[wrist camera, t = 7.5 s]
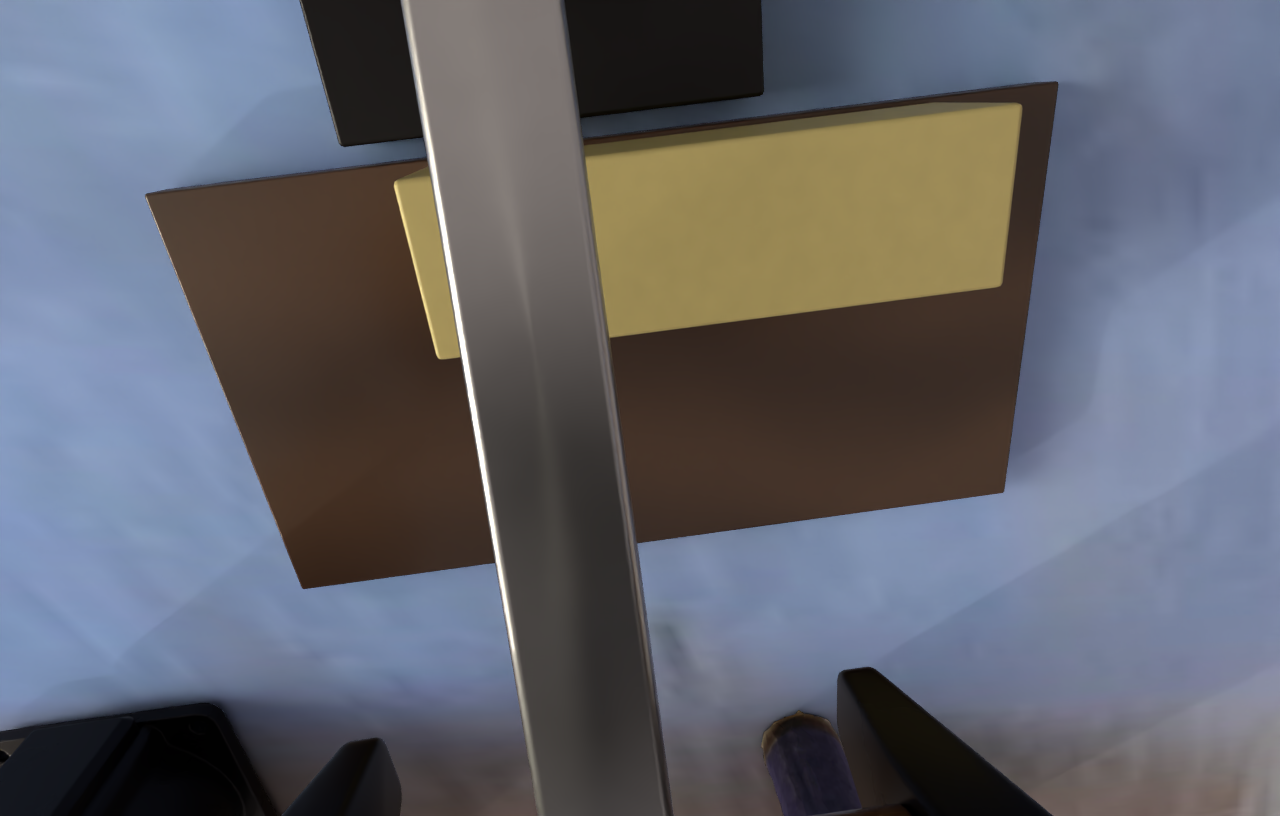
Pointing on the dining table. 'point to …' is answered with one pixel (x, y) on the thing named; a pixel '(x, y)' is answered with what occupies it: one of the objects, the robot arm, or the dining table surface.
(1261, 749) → the dining table surface
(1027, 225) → the butter board
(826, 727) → the flask
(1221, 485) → the dining table surface
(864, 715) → the robot arm
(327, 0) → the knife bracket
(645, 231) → the butter
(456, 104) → the grey brown t-shaped piece
